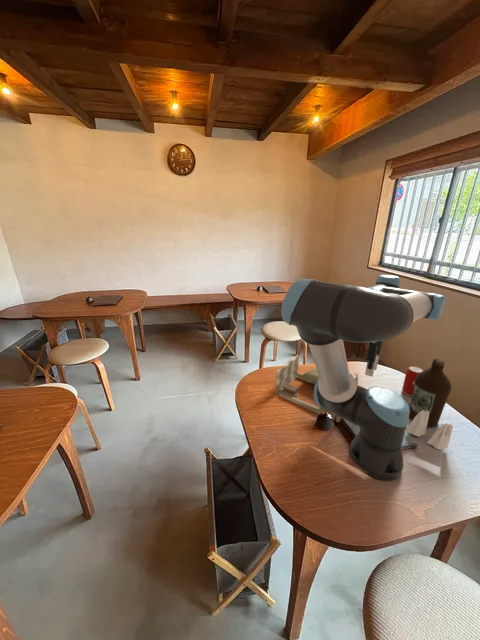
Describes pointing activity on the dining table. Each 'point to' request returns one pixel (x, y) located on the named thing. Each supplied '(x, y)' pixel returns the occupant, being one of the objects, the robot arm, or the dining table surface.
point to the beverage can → (410, 380)
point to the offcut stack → (290, 390)
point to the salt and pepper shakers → (441, 434)
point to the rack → (288, 375)
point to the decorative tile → (313, 375)
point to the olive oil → (430, 392)
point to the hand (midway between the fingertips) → (370, 372)
